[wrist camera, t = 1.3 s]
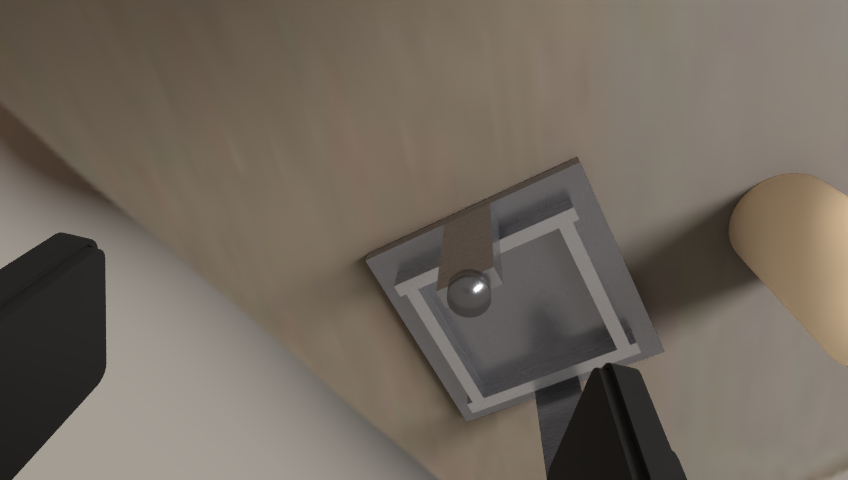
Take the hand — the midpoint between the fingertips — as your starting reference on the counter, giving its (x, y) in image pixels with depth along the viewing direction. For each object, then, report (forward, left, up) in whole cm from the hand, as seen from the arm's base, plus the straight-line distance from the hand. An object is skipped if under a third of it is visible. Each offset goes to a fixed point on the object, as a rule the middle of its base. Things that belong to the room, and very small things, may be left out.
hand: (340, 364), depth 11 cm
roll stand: (+1, +14, -24) cm, 28 cm away
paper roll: (-15, +16, -24) cm, 32 cm away
